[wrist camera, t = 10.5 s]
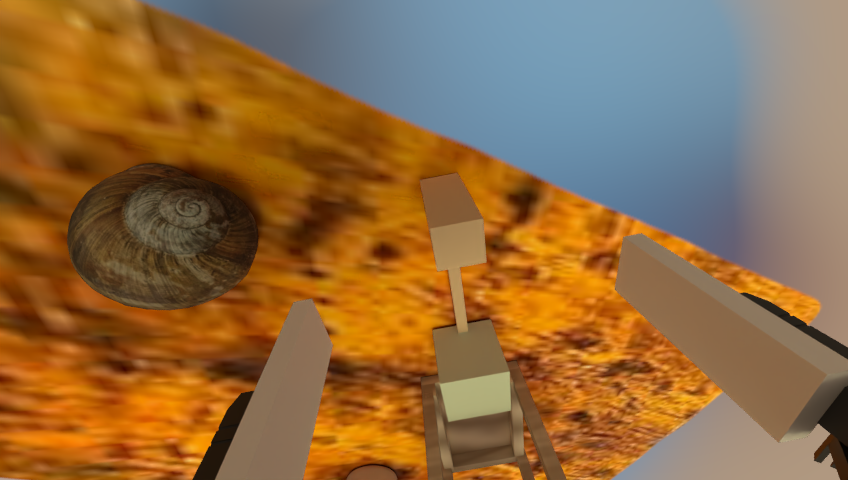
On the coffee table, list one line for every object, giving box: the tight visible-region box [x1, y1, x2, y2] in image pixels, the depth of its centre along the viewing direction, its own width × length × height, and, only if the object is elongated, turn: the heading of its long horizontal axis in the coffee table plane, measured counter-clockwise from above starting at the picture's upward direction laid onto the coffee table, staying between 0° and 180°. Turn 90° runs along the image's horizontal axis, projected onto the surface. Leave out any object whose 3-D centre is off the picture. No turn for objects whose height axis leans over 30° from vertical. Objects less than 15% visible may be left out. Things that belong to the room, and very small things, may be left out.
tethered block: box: [420, 173, 511, 422], centre depth 26 cm, size 22×6×8 cm, turn 10°
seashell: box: [67, 164, 258, 310], centre depth 20 cm, size 11×9×8 cm
